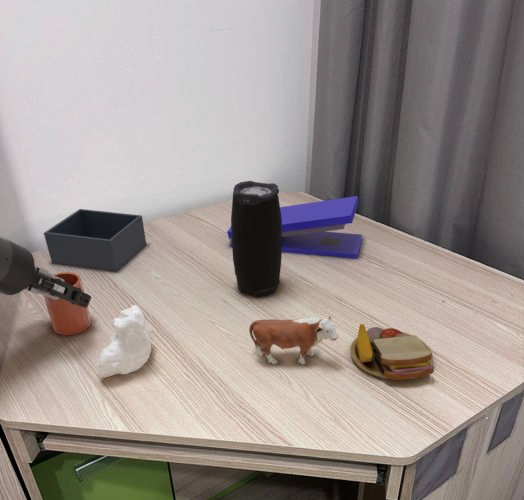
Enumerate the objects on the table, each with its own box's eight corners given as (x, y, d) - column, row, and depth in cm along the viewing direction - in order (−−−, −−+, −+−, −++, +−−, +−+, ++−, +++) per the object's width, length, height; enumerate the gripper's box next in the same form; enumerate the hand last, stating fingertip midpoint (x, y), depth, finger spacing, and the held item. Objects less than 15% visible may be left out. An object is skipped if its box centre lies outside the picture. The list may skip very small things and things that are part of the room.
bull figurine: (335, 372, 82) (339, 327, 77) (248, 364, 83) (246, 320, 79) (337, 354, 85) (340, 311, 80) (253, 348, 87) (252, 305, 82)
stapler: (356, 261, 111) (361, 215, 105) (226, 249, 117) (224, 205, 111) (362, 238, 120) (366, 195, 114) (241, 228, 126) (239, 186, 120)
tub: (52, 264, 112) (43, 232, 108) (86, 238, 122) (79, 208, 118) (117, 273, 109) (110, 241, 104) (146, 246, 119) (142, 215, 115)
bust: (112, 399, 81) (143, 362, 73) (72, 366, 80) (99, 325, 72) (154, 354, 90) (185, 317, 82) (118, 324, 89) (146, 284, 81)
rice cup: (45, 331, 91) (32, 288, 86) (66, 312, 96) (55, 270, 91) (78, 337, 90) (66, 293, 85) (98, 318, 95) (88, 275, 89)
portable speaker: (287, 281, 105) (289, 181, 93) (269, 304, 98) (268, 200, 86) (247, 273, 107) (244, 175, 96) (227, 295, 101) (220, 193, 89)
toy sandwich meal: (422, 335, 89) (426, 311, 86) (441, 388, 78) (447, 362, 75) (346, 335, 89) (348, 311, 86) (355, 388, 78) (357, 362, 76)
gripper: (34, 247, 73) (112, 286, 88) (-30, 226, 79) (53, 266, 95) (13, 298, 73) (95, 329, 88) (-51, 273, 79) (36, 305, 94)
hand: (73, 296), depth 91 cm, fingers closed on rice cup, 6 cm apart
